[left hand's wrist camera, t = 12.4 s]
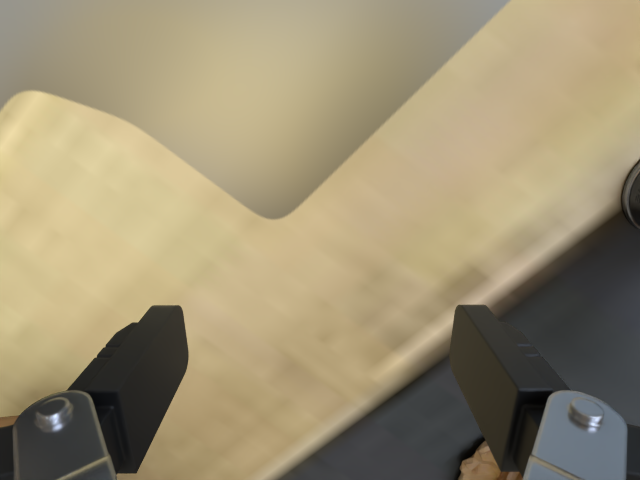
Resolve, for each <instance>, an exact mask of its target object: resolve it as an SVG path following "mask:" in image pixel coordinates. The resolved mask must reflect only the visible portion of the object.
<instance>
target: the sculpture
mask: <svg viewBox="0 0 640 480" xmlns="http://www.w3.org/2000/svg"><path fill="white" fill-rule="evenodd" d="M460 470H461V475H460V477H459V478H458V480H523V477H522V476H521V474H520V472H501V471H500V469H499V467H498V465H497V463H496V461H495V459H494V457H493V455H492V453H491V451H490V449H489V446H488V444H487V442H486V441H484V442H483V443H482V444H481V445H480V446H479V447H478V448H477V449H476V452H475V454H473V456H472V457H470V458H467V459H465V460H463V461H462V463H461V466H460Z"/></svg>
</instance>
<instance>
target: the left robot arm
mask: <svg viewBox="0 0 640 480" xmlns="http://www.w3.org/2000/svg"><path fill="white" fill-rule="evenodd" d="M622 206H623V211H624V214H625V216H626V218H627V219H628V221H629V222H630V223H631V224H632V225H633V226H634V227H636V228H637V229H639V230H640V162H639V163H638V164H637V165H636V166H635V167H634V169H633V170H632V172H631V173H630V175H629V177H628V179H627V181H626V183H625V186H624V189H623V194H622ZM450 364H451V368H452V371H453V374H454V376H455V378H456V380H457V382H458V384H459V386H460V388H461V390H462V392H463V395H464V397H465V399H466V401H467V403H468V405H469V407H470V409H471V411H472V413H473V415H474V417H475V419H476V422H477V424H478V426H479V428H480V430H481V432H482V434H483V436H484V438H485V440H486V442H487V444H488V446H489V449H490V451H491V453H492V455H493V457H494V459H495V461H496V463H497V465H498V467H499V469H500V471H501V472H520V474H521V476H522V477H523V480H640V427H638V426H634V425H629V424H626V423H625V421H624V419H623V418H622V417H621V415H620V414H619V413H618V412H617V411H616V410H614V409H613V408H612V407H611V406H609V405H608V404H606V403H605V402H603V401H601V400H599V399H597V398H595V397H593V396H590V395H588V394H585V393H581V392H577V391H571V390H570V389H569V388H568V386H567V385H566V384H565V383H564V382H563V381H562V379H561V378H560V377H559V376H558V375H557V373H556V372H555V371H554V370H553V369H552V368H551V366H550V365H549V364H548V363H547V362H546V361H545V359H544V358H543V357H540V354H539V352H538V351H537V350H536V349H535V348H534V347H532V344H531V343H530V342H529V341H528V340H527V338H526V337H525V336H524V335H523V334H522V332H520V331H519V330H517V329H515V328H514V327H512V326H511V325H509V324H508V323H506V322H499V321H498V320H497V318H496V317H495V316H494V315H493V313H492V312H491V311H490V310H489V308H488V307H487V306H486V305H458V306H457V307H456V310H455V315H454V322H453V330H452V337H451V345H450ZM187 365H188V345H187V338H186V331H185V323H184V316H183V311H182V308H181V307H180V306H179V305H154V306H151V307H150V309H149V310H148V311H147V312H146V314H145V315H144V316H143V317H142V319H141V320H140V321H139V322H138V323H131V324H130V325H128V326H126V327H125V328H123V329H122V330H120V331H119V332H117V333H116V334H115V335H114V336H113V337H112V338H111V340H110V341H109V342H108V343H107V344H106V347H105V348H103V349H102V350H101V351H100V352H99V354H98V355H97V358H94V359H93V361H92V362H91V363H90V364H89V365H88V366H87V368H86V369H85V370H84V371H83V372H82V373H81V374H80V376H79V377H78V378H77V379H76V380H75V381H74V383H73V384H72V385H71V386H70V387H69V388H68V390H67V391H63V392H59V393H55V394H52V395H50V396H47V397H45V398H43V399H41V400H39V401H37V402H35V403H34V404H32V405H31V406H29V407H28V408H27V409H26V410H24V411H23V412H22V413H21V414H20V415H19V417H18V418H17V419H16V421H15V423H14V424H13V425H9V426H5V427H0V480H117V476H116V475H117V473H137V471H138V469H139V467H140V465H141V463H142V461H143V459H144V457H145V455H146V453H147V450H148V448H149V446H150V444H151V442H152V440H153V438H154V436H155V434H156V432H157V430H158V428H159V426H160V424H161V422H162V420H163V418H164V416H165V413H166V411H167V409H168V407H169V405H170V403H171V401H172V399H173V397H174V395H175V393H176V391H177V389H178V387H179V385H180V383H181V381H182V379H183V377H184V374H185V372H186V369H187Z"/></svg>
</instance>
